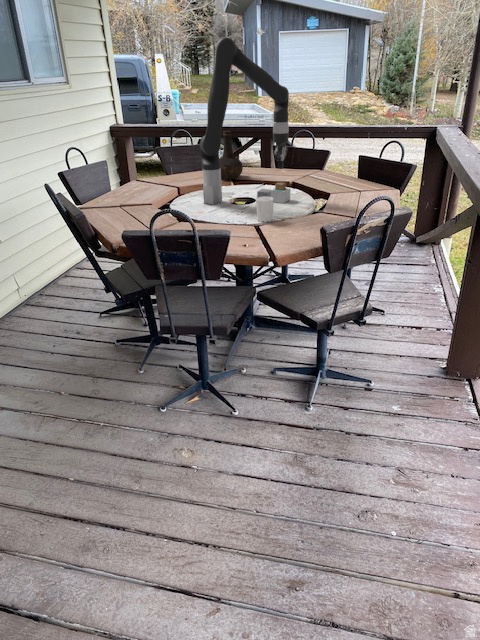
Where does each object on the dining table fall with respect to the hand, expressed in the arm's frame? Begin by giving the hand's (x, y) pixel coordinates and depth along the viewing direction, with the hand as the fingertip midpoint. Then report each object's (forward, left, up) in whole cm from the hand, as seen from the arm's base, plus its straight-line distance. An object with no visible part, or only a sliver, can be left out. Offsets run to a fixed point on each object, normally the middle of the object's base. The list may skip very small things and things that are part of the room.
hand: (280, 168), depth 245 cm
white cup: (-33, -8, -17) cm, 38 cm away
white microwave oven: (0, 0, -17) cm, 17 cm away
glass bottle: (+36, +53, -17) cm, 66 cm away
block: (0, 0, -17) cm, 17 cm away
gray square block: (0, +9, -17) cm, 19 cm away
